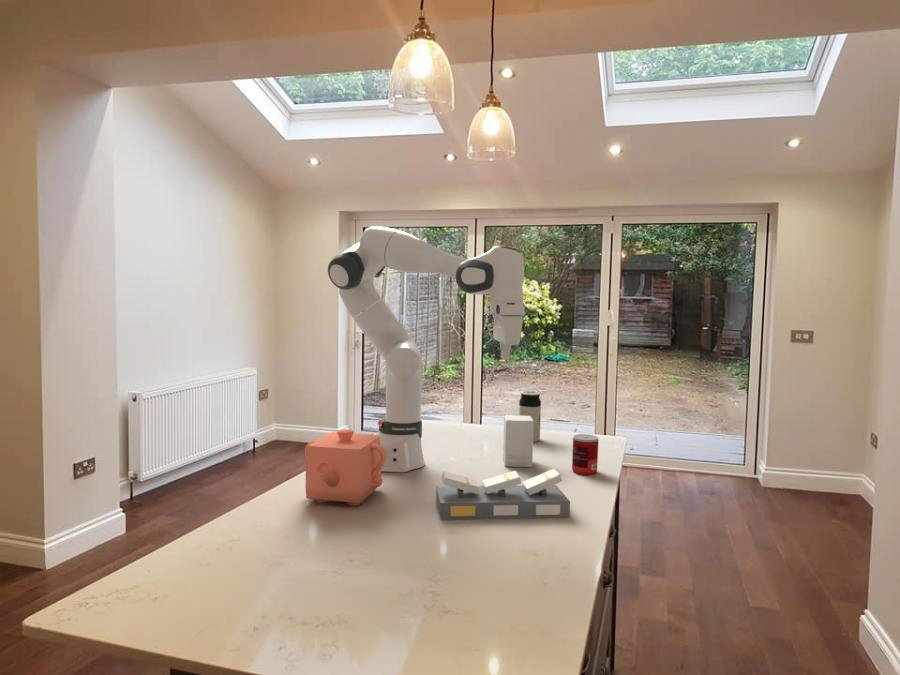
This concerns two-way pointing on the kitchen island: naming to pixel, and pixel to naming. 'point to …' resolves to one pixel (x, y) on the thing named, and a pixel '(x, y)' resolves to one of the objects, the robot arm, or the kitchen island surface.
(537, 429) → the travel mug
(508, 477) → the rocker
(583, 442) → the canned food
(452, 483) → the rocker
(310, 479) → the teapot
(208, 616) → the kitchen island surface
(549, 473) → the block
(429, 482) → the kitchen island surface
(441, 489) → the console
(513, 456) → the supplement box
